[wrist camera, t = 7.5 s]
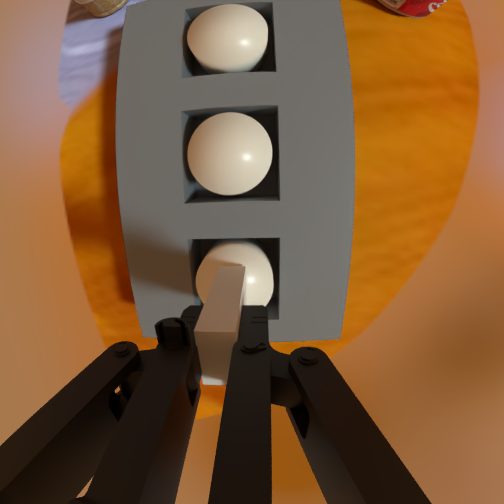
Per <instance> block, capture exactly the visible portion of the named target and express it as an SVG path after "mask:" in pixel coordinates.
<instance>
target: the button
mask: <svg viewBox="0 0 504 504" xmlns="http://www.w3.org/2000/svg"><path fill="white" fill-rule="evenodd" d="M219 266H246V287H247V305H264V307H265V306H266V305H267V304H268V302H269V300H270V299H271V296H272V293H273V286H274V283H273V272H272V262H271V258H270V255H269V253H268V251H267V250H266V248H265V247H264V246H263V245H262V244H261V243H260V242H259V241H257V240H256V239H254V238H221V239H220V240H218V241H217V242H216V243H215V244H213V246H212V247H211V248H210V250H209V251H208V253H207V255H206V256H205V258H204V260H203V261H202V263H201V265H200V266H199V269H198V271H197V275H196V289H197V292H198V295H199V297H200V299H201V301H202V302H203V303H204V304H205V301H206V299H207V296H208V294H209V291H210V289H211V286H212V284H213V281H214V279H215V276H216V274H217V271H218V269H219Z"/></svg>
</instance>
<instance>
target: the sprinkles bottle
mask: <svg viewBox="0 0 504 504" xmlns="http://www.w3.org/2000/svg"><path fill="white" fill-rule="evenodd" d="M74 1H75V2H77V3H79V4H81V5H83V6H84V7H85V8H87V9H88V10H90V11H91V13H92V14H93V15H94V16H97V17H104V16H108V15H110V14H112V13H114V12H116V11H118V10H119V9H120V8H122V7H123V6H124V5H125V4H126V3H127V2H128V1H129V0H74Z"/></svg>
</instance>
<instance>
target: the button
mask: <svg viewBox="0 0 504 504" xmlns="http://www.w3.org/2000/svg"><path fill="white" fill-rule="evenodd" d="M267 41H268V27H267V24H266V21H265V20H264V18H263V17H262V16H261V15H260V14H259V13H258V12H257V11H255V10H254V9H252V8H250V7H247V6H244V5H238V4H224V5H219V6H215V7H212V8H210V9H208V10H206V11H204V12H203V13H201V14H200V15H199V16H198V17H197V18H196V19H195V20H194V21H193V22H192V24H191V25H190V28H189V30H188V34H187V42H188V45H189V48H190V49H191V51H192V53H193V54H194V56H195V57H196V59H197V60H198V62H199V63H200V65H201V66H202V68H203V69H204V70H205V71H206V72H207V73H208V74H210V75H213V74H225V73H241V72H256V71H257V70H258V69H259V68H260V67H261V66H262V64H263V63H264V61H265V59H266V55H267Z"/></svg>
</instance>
